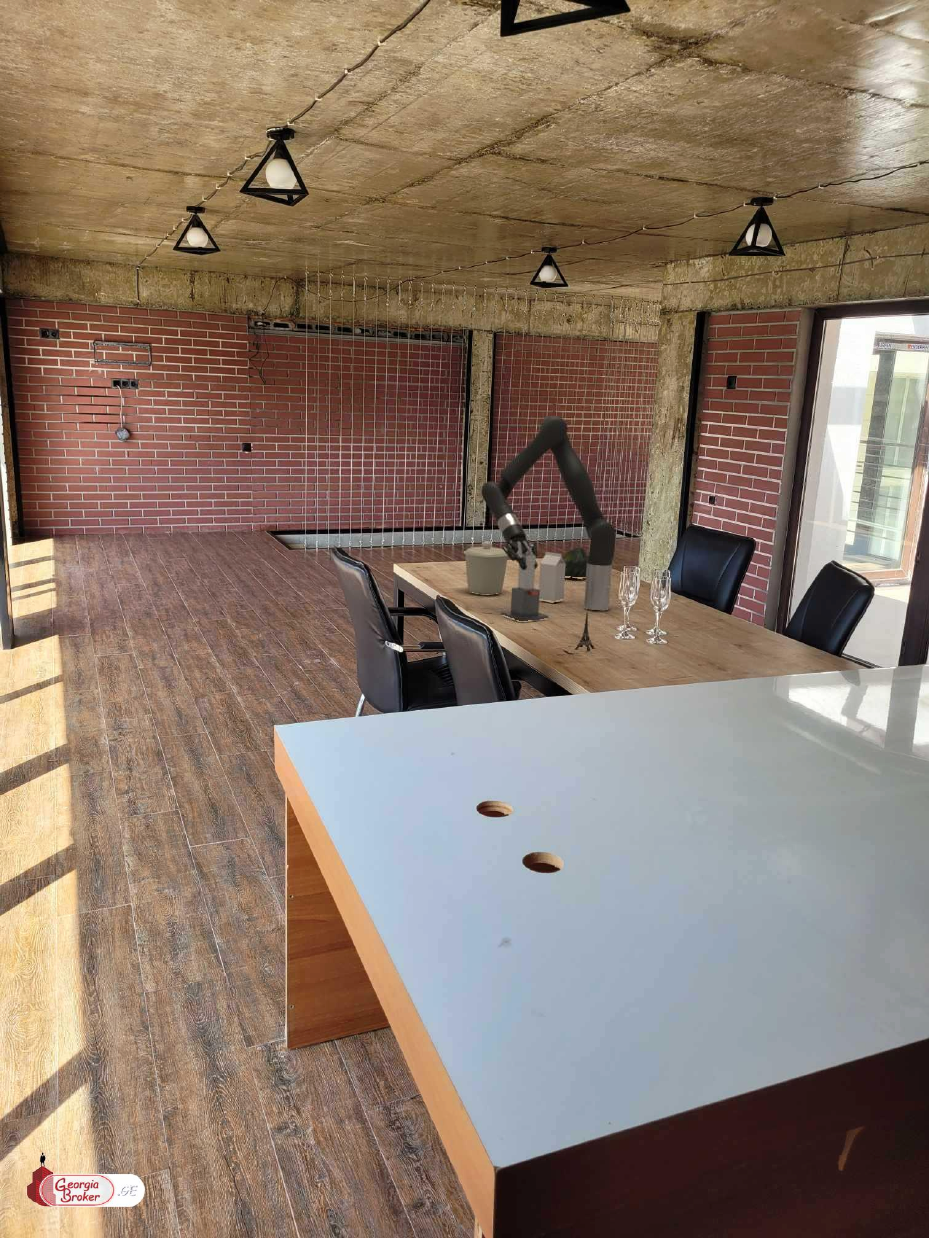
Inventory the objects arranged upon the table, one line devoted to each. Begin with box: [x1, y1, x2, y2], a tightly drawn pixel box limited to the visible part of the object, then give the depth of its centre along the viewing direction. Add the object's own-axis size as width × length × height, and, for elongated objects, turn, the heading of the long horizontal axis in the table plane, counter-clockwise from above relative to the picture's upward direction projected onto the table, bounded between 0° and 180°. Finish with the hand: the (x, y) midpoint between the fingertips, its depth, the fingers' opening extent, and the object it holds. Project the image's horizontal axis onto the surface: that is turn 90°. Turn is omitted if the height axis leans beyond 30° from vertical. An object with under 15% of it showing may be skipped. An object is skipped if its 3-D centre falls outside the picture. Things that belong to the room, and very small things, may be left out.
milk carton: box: [538, 551, 566, 601], centre depth 357 cm, size 7×7×19 cm
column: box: [517, 554, 537, 591], centre depth 325 cm, size 4×4×16 cm
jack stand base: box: [500, 586, 549, 621], centre depth 328 cm, size 12×12×10 cm
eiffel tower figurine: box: [568, 611, 596, 652], centre depth 287 cm, size 15×10×13 cm
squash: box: [562, 547, 589, 577], centre depth 409 cm, size 14×15×15 cm
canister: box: [463, 540, 509, 594], centre depth 368 cm, size 18×18×21 cm
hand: (530, 568), depth 323 cm, fingers closed on column, 4 cm apart
